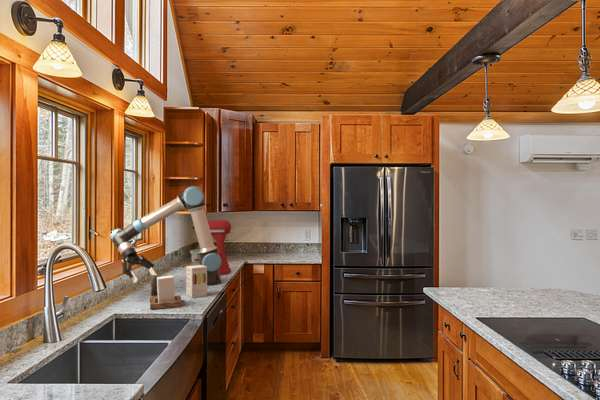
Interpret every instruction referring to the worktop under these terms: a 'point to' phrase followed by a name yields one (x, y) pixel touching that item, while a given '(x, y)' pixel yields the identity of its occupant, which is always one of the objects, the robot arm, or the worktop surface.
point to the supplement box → (196, 281)
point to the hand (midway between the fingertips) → (146, 279)
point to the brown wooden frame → (154, 297)
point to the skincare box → (165, 289)
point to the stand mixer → (219, 234)
